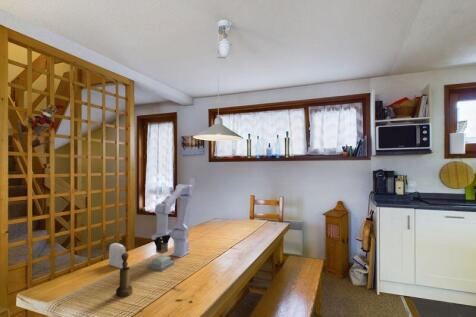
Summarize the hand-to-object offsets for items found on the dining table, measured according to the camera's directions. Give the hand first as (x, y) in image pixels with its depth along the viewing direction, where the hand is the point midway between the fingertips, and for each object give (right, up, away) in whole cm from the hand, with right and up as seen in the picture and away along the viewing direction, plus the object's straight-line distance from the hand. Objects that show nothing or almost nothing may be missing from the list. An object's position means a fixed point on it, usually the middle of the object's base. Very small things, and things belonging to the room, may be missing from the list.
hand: (161, 249), depth 146 cm
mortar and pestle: (-8, -9, -31) cm, 33 cm away
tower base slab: (0, -10, 0) cm, 10 cm away
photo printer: (-25, -9, -1) cm, 26 cm away
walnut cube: (0, -2, 0) cm, 2 cm away
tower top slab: (0, -8, 0) cm, 8 cm away
